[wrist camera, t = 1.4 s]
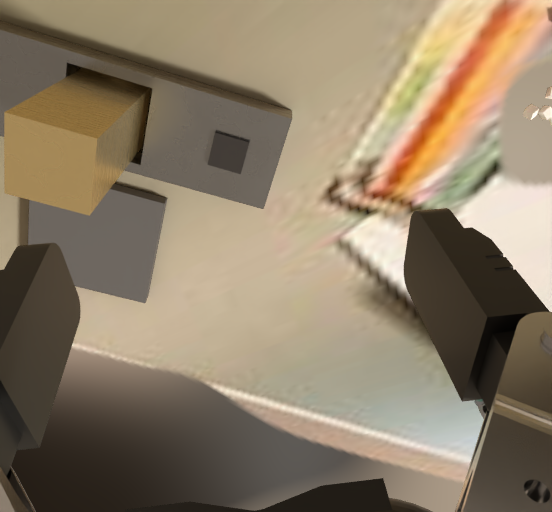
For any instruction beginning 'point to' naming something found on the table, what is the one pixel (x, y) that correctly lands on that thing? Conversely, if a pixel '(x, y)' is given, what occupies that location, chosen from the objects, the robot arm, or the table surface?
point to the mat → (105, 240)
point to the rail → (163, 117)
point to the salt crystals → (544, 112)
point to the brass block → (74, 139)
